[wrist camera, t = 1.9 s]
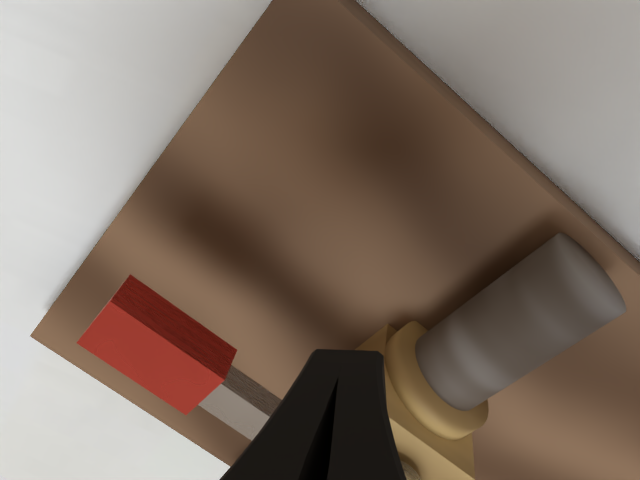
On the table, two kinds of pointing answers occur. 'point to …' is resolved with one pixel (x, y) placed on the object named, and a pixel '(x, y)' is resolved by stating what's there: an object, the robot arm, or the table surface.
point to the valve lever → (179, 360)
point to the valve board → (378, 259)
